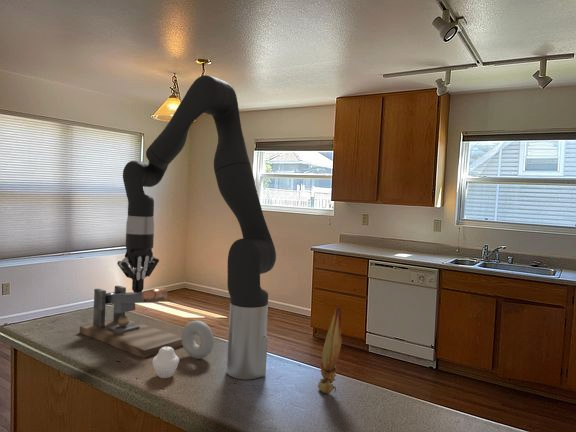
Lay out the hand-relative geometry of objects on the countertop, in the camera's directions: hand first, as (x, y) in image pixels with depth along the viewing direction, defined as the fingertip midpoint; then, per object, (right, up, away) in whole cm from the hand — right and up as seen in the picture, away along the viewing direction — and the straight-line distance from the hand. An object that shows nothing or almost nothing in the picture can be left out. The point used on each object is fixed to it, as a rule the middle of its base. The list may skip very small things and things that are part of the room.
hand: (137, 292), depth 128 cm
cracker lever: (-2, -6, +2) cm, 6 cm away
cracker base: (-2, -14, +2) cm, 14 cm away
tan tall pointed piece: (+52, -18, -28) cm, 61 cm away
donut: (+19, -16, -11) cm, 27 cm away
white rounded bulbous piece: (+14, -16, -23) cm, 31 cm away
